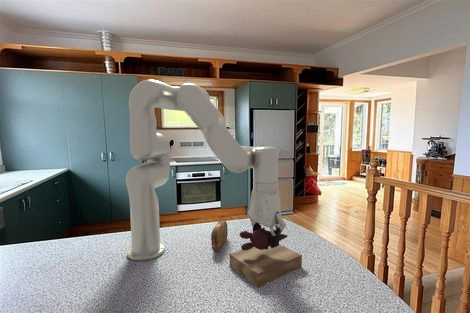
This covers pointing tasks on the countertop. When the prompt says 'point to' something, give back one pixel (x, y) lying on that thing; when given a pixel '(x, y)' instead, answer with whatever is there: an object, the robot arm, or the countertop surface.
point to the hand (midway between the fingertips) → (265, 241)
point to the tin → (219, 236)
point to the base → (265, 263)
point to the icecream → (258, 239)
